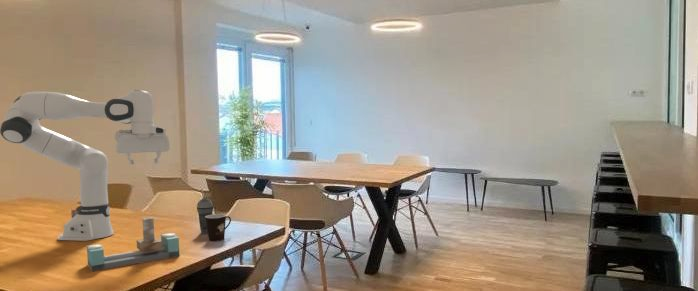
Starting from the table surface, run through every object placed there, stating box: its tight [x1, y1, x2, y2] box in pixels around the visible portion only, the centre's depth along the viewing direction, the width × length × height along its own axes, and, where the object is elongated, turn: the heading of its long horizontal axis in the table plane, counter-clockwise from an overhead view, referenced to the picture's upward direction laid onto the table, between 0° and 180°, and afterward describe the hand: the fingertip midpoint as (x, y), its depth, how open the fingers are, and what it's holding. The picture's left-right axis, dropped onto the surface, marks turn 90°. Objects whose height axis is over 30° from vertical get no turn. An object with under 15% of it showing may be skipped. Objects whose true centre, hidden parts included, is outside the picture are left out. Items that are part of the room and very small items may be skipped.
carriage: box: [136, 216, 162, 253], centre depth 192 cm, size 7×9×12 cm
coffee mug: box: [205, 213, 232, 242], centre depth 219 cm, size 12×9×10 cm
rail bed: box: [86, 232, 181, 272], centre depth 189 cm, size 30×10×8 cm, turn 124°
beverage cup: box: [196, 188, 214, 235], centre depth 230 cm, size 7×7×20 cm
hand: (143, 163), depth 208 cm, fingers open, 8 cm apart
